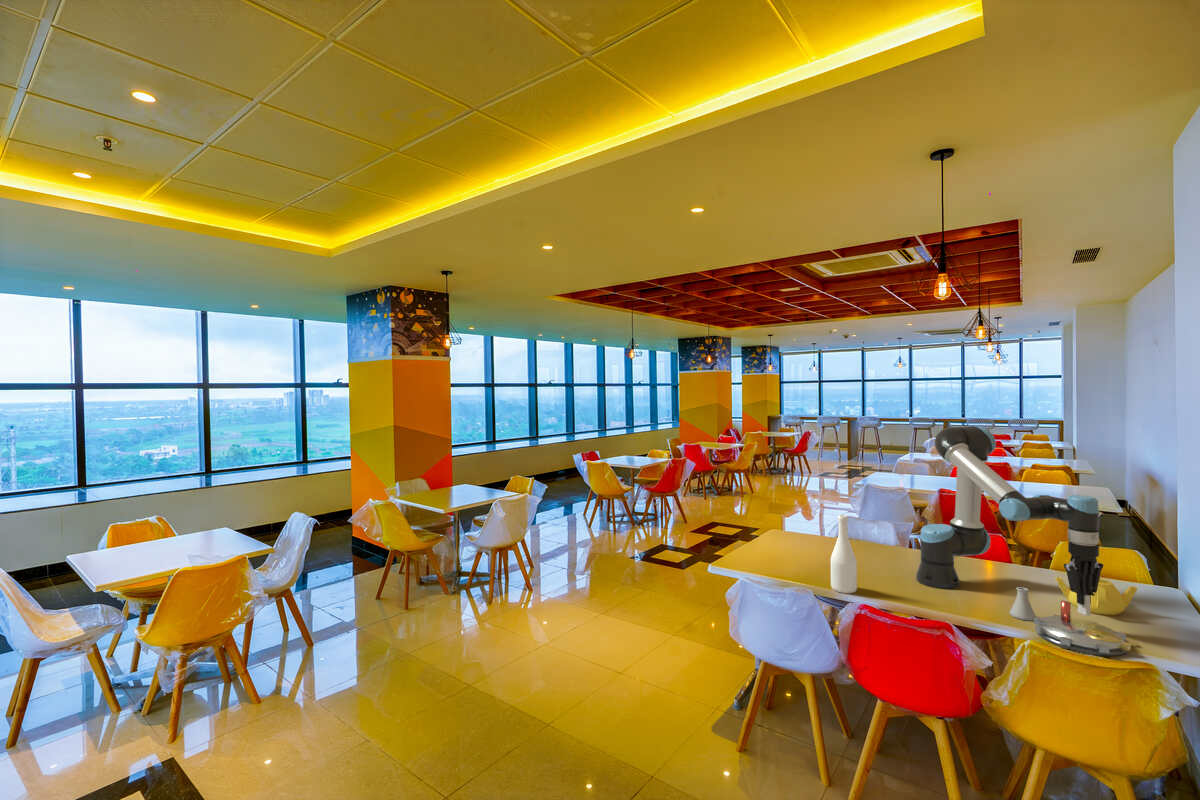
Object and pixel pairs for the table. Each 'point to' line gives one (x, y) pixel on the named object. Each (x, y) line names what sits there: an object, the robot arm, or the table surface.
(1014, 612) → the flask
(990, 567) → the table surface
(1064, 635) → the turntable
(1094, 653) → the base
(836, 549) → the wine bottle
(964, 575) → the table surface
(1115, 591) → the teapot
